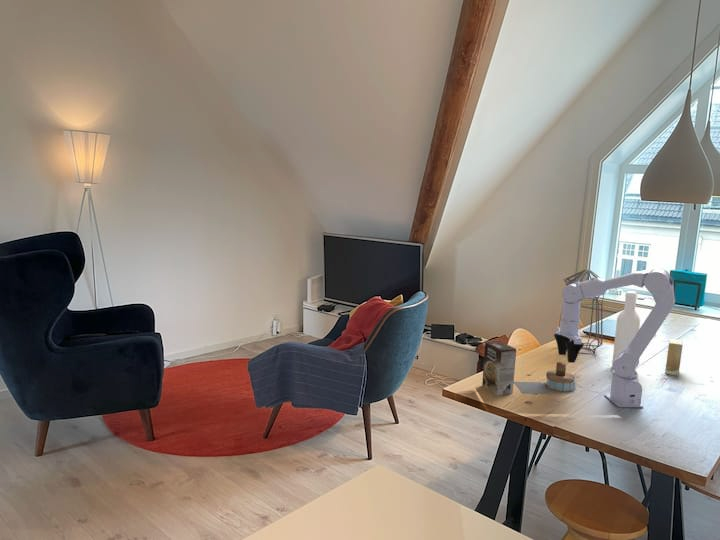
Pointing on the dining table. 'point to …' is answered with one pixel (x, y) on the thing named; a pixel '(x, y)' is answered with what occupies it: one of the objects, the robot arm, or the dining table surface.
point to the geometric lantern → (582, 274)
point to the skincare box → (674, 357)
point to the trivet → (533, 387)
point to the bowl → (561, 385)
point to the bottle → (626, 325)
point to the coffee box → (499, 367)
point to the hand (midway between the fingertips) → (566, 358)
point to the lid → (560, 374)
